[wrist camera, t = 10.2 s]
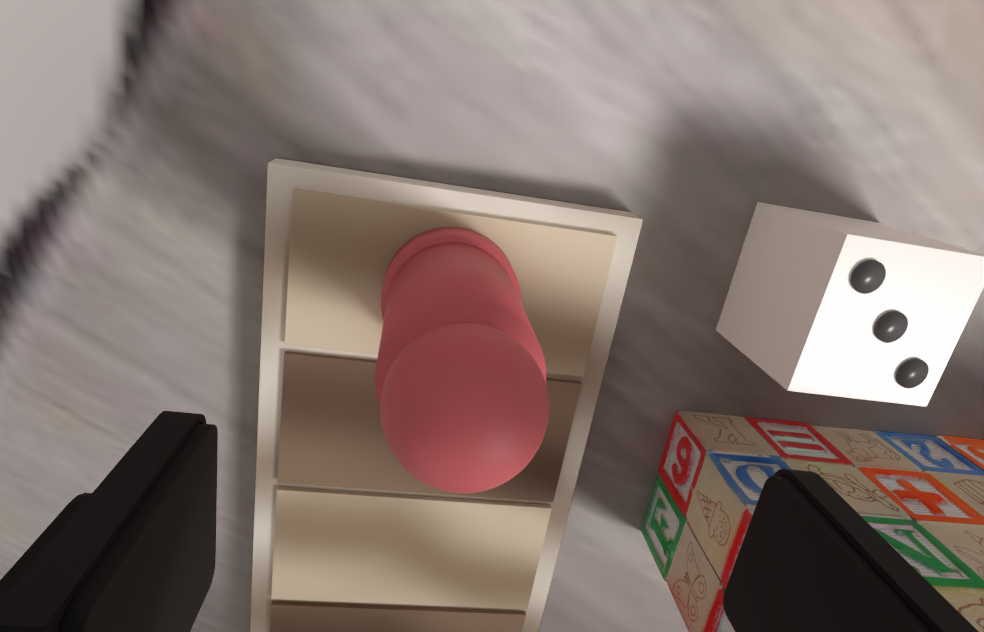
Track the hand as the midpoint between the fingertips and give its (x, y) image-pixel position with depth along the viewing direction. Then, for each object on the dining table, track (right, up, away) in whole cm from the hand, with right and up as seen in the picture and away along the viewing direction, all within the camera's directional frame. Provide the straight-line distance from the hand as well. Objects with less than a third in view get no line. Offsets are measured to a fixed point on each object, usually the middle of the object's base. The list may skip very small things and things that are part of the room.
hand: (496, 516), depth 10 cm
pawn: (-1, +4, +10) cm, 11 cm away
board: (-3, -3, +14) cm, 15 cm away
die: (+11, +5, +13) cm, 18 cm away
